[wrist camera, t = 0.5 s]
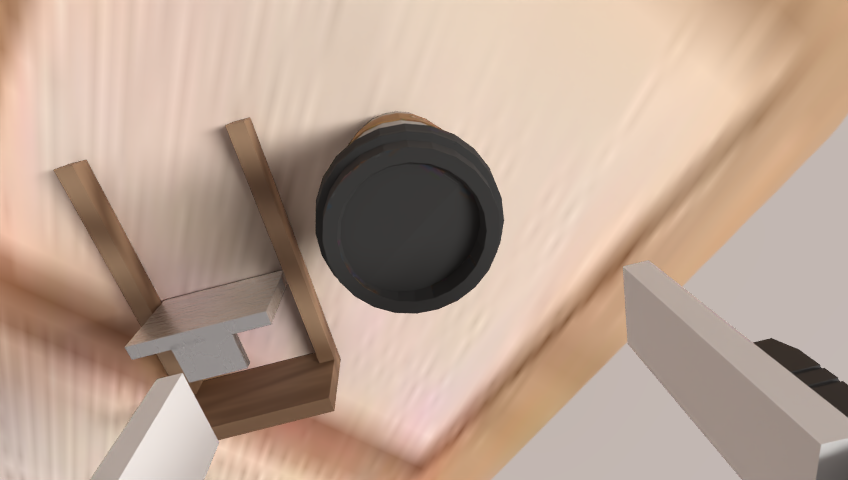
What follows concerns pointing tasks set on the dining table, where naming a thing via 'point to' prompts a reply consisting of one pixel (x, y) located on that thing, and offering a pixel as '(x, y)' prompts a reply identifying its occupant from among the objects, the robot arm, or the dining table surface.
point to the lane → (310, 374)
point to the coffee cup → (408, 215)
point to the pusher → (210, 325)
